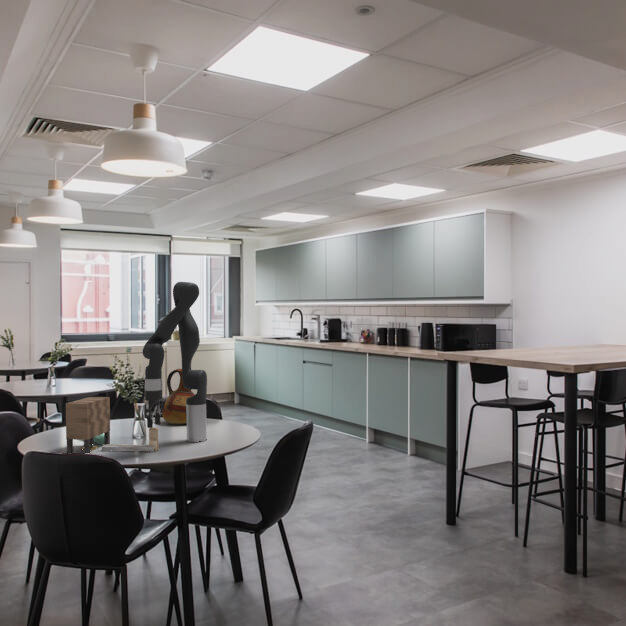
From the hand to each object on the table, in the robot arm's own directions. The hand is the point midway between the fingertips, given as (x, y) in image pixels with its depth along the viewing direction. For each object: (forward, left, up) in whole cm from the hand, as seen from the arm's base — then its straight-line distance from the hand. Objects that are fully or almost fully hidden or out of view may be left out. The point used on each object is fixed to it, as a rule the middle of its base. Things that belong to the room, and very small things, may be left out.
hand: (153, 426), depth 272 cm
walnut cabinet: (-1, -31, -11) cm, 33 cm away
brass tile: (-1, -31, -11) cm, 33 cm away
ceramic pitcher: (-67, -13, -11) cm, 69 cm away
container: (-18, -38, -11) cm, 44 cm away
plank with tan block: (-1, -12, -11) cm, 16 cm away
